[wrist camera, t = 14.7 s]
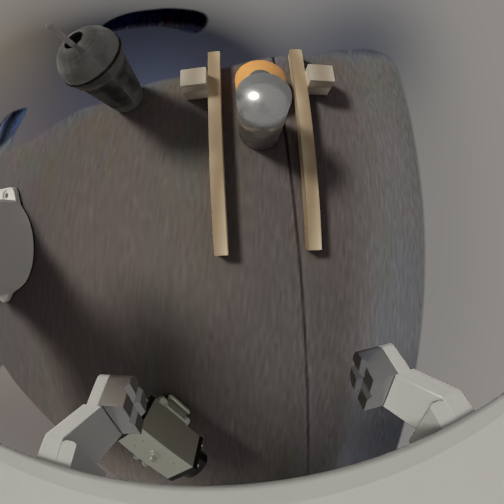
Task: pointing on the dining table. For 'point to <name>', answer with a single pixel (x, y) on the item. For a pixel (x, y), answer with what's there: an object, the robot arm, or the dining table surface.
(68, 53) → the beverage cup
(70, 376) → the dining table surface
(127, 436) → the pneumatic valve
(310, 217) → the guide track
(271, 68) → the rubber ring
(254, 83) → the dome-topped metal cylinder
